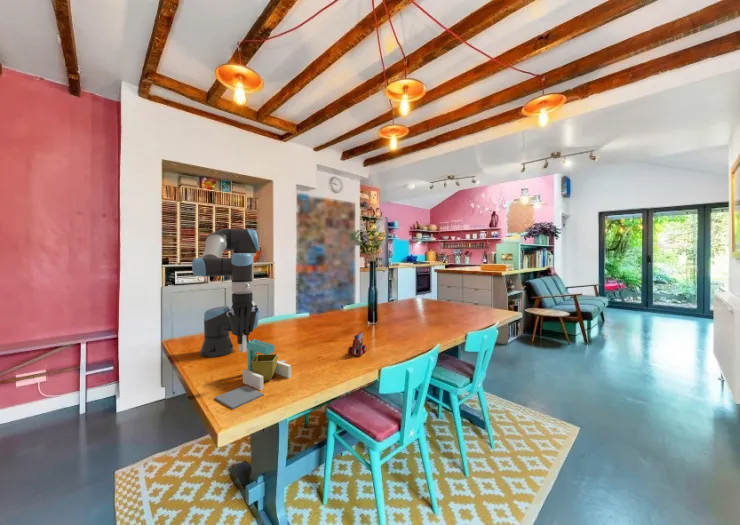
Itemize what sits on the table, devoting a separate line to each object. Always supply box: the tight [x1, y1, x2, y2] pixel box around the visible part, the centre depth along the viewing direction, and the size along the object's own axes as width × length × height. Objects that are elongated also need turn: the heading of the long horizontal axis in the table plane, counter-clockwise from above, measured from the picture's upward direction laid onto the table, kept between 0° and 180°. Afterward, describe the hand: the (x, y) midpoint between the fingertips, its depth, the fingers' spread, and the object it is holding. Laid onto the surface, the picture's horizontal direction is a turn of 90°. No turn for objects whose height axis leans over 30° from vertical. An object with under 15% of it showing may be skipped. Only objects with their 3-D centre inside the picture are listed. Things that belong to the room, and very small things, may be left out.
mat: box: [213, 384, 265, 410], centre depth 109 cm, size 12×12×1 cm
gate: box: [246, 338, 275, 372], centre depth 126 cm, size 14×4×14 cm, turn 55°
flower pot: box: [251, 353, 279, 382], centre depth 124 cm, size 9×9×9 cm
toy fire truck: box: [347, 331, 367, 357], centre depth 155 cm, size 7×12×10 cm, turn 160°
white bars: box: [241, 359, 292, 391], centre depth 129 cm, size 18×24×5 cm
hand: (242, 351), depth 119 cm, fingers closed
